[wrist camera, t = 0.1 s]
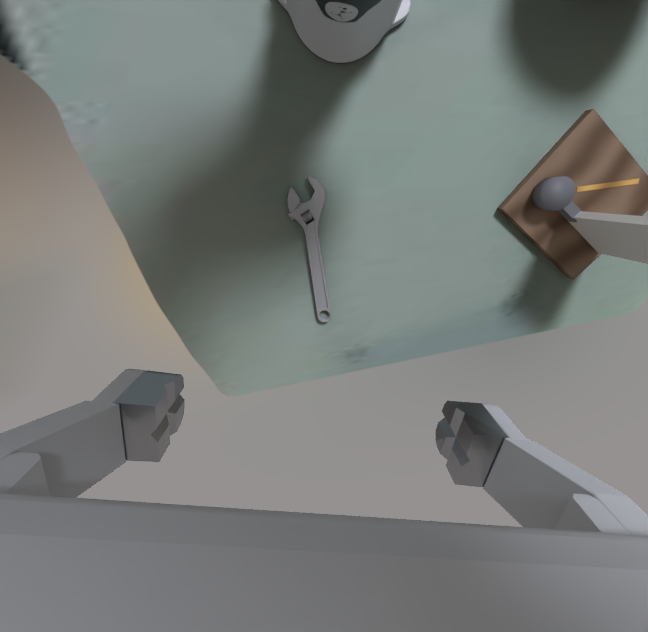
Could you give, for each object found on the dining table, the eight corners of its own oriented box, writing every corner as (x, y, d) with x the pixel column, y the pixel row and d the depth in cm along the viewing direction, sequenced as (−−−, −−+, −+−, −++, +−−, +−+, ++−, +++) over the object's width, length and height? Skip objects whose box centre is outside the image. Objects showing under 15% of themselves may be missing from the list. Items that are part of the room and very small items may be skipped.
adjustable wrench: (332, 318, 61) (332, 322, 60) (299, 320, 61) (298, 324, 60) (323, 177, 52) (324, 177, 50) (284, 180, 52) (283, 180, 50)
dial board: (497, 208, 54) (502, 208, 53) (585, 110, 49) (594, 108, 48) (567, 277, 59) (574, 279, 58) (654, 195, 54) (664, 195, 53)
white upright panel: (526, 196, 52) (612, 199, 37) (550, 169, 50) (650, 161, 35) (589, 261, 56) (688, 287, 41) (613, 238, 55) (725, 256, 40)
